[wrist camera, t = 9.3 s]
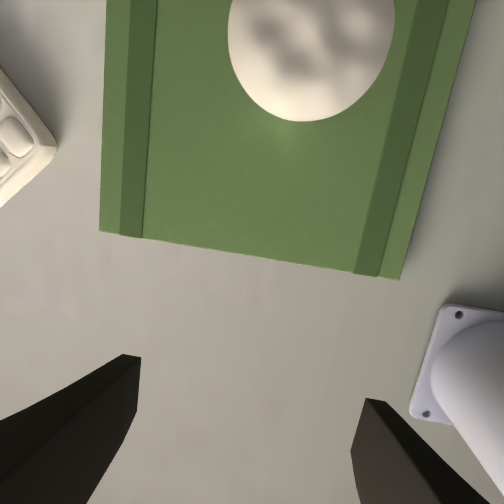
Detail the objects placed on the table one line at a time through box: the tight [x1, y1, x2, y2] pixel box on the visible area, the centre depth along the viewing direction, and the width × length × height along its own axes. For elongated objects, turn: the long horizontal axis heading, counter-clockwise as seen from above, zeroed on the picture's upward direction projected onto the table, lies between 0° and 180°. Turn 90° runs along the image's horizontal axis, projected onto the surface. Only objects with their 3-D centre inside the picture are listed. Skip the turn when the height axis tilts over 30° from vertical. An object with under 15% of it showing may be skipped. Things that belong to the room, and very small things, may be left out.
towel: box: [99, 0, 476, 280], centre depth 17 cm, size 18×16×1 cm
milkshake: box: [228, 0, 395, 132], centre depth 12 cm, size 4×5×10 cm
